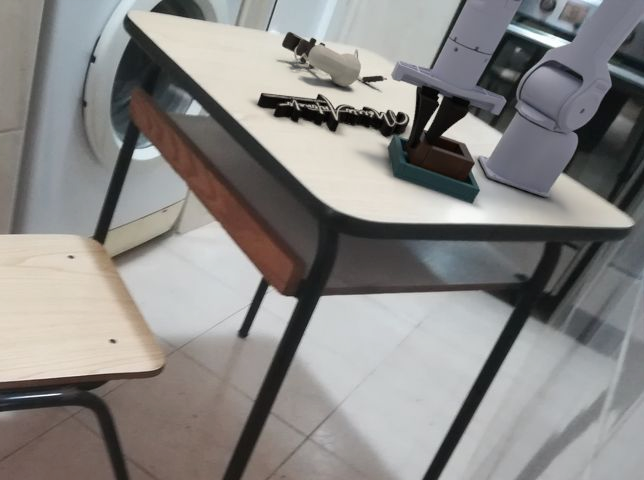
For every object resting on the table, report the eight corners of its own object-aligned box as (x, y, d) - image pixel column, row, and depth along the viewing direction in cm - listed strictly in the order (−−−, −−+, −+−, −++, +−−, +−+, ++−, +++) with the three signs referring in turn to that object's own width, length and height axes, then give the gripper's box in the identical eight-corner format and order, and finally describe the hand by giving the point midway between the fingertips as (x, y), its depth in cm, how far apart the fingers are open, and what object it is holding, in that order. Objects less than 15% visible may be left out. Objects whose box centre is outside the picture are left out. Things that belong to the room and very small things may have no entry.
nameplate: (389, 102, 109) (429, 130, 103) (385, 111, 110) (424, 140, 104) (252, 85, 96) (287, 117, 90) (248, 96, 97) (283, 128, 91)
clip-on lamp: (342, 85, 126) (273, 51, 115) (360, 51, 123) (291, 13, 112) (382, 107, 118) (312, 73, 107) (402, 71, 115) (332, 33, 104)
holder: (459, 172, 97) (466, 159, 96) (472, 203, 89) (480, 190, 87) (387, 147, 96) (394, 134, 95) (393, 176, 88) (400, 162, 87)
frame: (453, 163, 95) (465, 143, 93) (463, 183, 89) (475, 163, 87) (404, 146, 94) (414, 126, 92) (410, 165, 89) (421, 144, 87)
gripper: (517, 55, 86) (461, 153, 94) (411, 18, 85) (364, 120, 93) (532, 71, 80) (471, 173, 89) (419, 31, 79) (368, 138, 88)
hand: (416, 147), depth 91 cm, fingers closed on frame
